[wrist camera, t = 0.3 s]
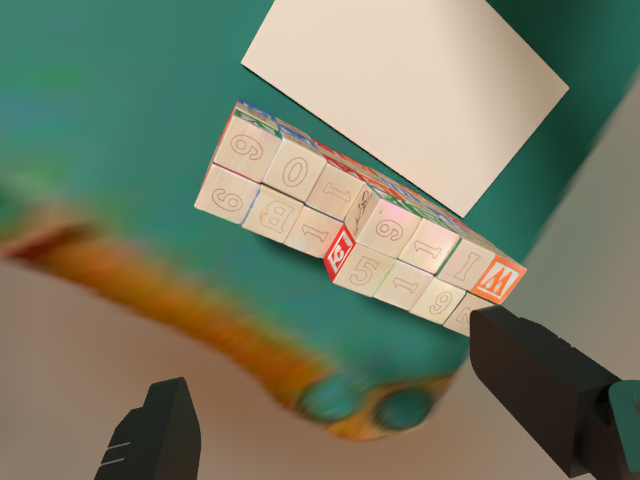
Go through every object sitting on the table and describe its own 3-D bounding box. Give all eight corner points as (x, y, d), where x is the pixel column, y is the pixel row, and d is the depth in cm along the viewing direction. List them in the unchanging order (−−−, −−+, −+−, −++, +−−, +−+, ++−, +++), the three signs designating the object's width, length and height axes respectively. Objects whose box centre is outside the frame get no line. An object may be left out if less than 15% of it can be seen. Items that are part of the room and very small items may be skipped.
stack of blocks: (206, 167, 31) (182, 226, 20) (238, 95, 29) (231, 116, 18) (410, 261, 38) (475, 341, 27) (446, 208, 36) (531, 272, 25)
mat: (350, -136, 24) (351, -139, 24) (566, 87, 33) (569, 87, 33) (240, 63, 28) (240, 62, 28) (461, 216, 37) (463, 218, 37)
